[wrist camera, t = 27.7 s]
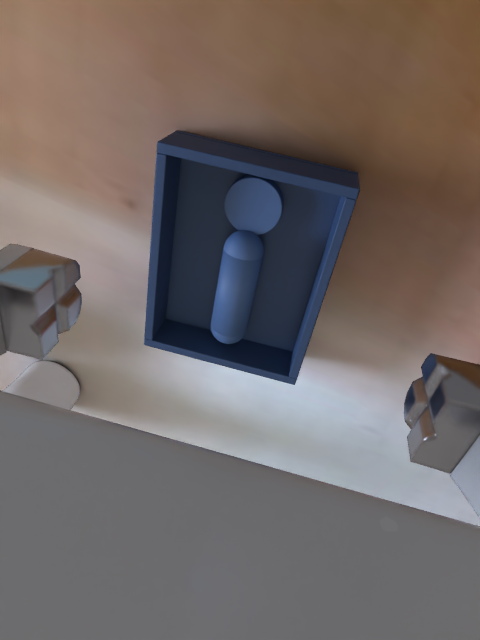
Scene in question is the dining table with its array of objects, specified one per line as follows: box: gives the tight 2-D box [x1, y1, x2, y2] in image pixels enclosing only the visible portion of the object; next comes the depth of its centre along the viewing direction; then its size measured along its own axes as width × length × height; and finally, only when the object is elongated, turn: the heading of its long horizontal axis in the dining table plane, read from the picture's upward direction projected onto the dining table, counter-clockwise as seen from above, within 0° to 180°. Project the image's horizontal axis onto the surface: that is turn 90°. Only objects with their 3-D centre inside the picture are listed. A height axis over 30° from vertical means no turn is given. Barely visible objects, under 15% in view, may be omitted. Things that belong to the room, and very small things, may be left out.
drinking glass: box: [3, 361, 80, 410], centre depth 35 cm, size 7×7×15 cm
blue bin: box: [144, 130, 360, 385], centre depth 29 cm, size 14×11×4 cm
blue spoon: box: [211, 174, 284, 344], centre depth 29 cm, size 4×12×3 cm, turn 170°
